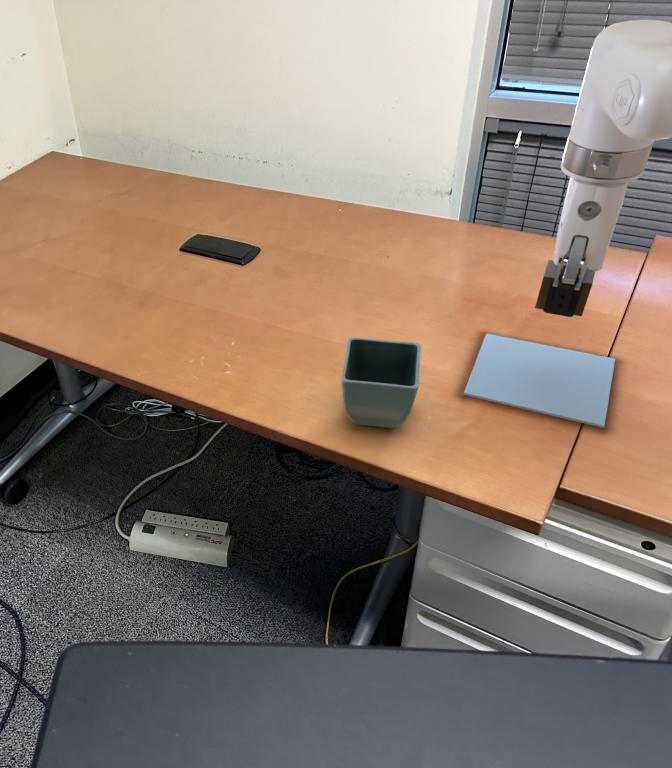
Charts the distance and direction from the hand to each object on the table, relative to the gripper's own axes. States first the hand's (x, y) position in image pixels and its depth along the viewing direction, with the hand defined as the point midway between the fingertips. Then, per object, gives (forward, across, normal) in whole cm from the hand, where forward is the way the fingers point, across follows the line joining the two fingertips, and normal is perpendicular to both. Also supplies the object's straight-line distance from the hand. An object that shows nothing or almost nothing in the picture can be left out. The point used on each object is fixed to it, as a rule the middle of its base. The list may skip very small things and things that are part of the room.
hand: (561, 301), depth 83 cm
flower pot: (+12, -15, +17) cm, 26 cm away
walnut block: (0, 0, 0) cm, 0 cm away
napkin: (+12, 0, 0) cm, 12 cm away
